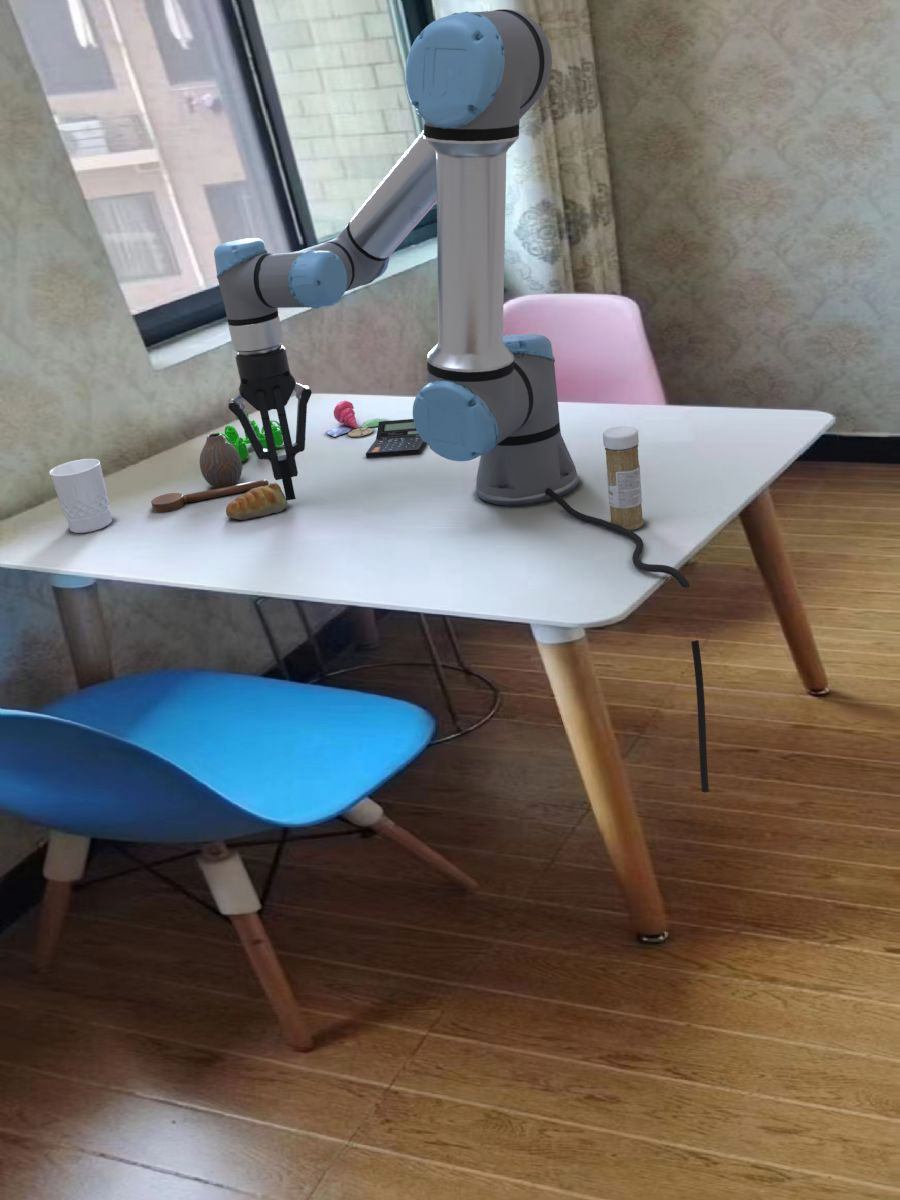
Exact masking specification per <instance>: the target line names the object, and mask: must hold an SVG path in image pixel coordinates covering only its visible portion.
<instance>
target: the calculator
mask: <svg viewBox="0 0 900 1200" xmlns="http://www.w3.org/2000/svg"><path fill="white" fill-rule="evenodd" d="M426 444H427V443H426V442H424V441H423V440H422V439H421V437H420V435H419V434H418V432H417V430H416V427H415V424H414V420H413V418H406V419H393V420H386V421H381V422H379V424H378V426H377V429H376V437H375V440H374V442H373V443H372V444H371V446H370V447H369V448H368V450H367V451H366V452H365V457H366V459H371V458H372V459H374V458H385V457H386V458H387V457H399V456H413V455H414V456H415V455H420V454H421V452H422V451H423V449H424V447H425V446H426Z"/></svg>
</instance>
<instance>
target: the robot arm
mask: <svg viewBox="0 0 900 1200" xmlns="http://www.w3.org/2000/svg"><path fill="white" fill-rule="evenodd" d="M424 27H425V28H424V29H422V30H421V32H420V33H419V34H418V35H417V37H416V38H415V39H414V41H413V42H412V45H411V47H410V49H409V52H408V55H407V59H406V62H405V71H404V76H405V77H404V78H405V80H404V81H405V87H406V92H407V93H406V94H407V96H408V99H409V100H410V103H411V105H412V106H414V107H415V109H416V113H417V114H418V115H419V117H420V118H422V119H423V121H422V122H423V123H422V125H423V130H422V132H421V133H420V134H419V135H418V136H417V138H415V140H414V141H413V142H412V144H411V145H410V146H409V148H408V149H407V150H406V151H405V152H404V154H403V155H401V157H400V158H399V160H398V161H397V162H396V164H395V165H394V166H393V167H392V169H390V171H389V172H388V173H387V175H386V176H385V177H384V178H383V180H382V181H381V182H379V185H378V186H377V187H376V188H375V189H374V190H373V192H371V194H370V196H369V197H368V198H367V199H366V200H365V202H364V203H363V204H362V205H361V207H360V208H359V209H358V210H357V212H356V213H355V214H354V215H353V216H352V218H351V219H350V221H349V222H348V223H347V224H346V225H345V227H343V229H342V230H341V231H340V233H339V234H338V235H337V236H336V237H334V238H333V239H329V240H327V241H323V242H321V243H319V244H315V245H312V246H310V247H305V248H303V249H300V250H296V251H291V252H280V253H270V252H268V250H267V248H266V244H265V242H264V240H263V239H261V238H257V237H251V238H242V239H235V240H231V241H227V242H224V243H220V244H219V245H217V246H216V247H215V249H214V250H213V255H214V256H213V257H214V263H215V264H214V265H215V270H216V279H217V281H218V285H219V289H220V293H221V297H222V302H223V306H224V309H225V315H226V320H227V325H228V326H227V327H228V331H229V335H230V339H231V345H232V349H233V351H235V352H237V353H236V354H235V356H234V358H235V362H236V367H237V371H238V377H239V380H240V385H239V387H238V391H239V393H237V394H236V395H235V396H234V397H233V398H230V399H228V401H227V406H228V407H227V408H228V409H229V411H231V412H232V413H233V414H234V415H235V417H236V416H237V417H238V419H239V420H238V419H237V420H238V421H239V422H240V425H241V427H242V429H243V431H245V432H244V434H245V433H246V435H247V437H248V439H249V441H250V443H249V444H250V445H251V447H252V449H253V452H254V453H255V455H256V457H257V459H258V460H267V461H269V462H270V466H271V470H272V474H273V478H274V480H275V481H279V480H281V481H282V485H283V490H284V495H285V497H286V500H287V501H292V500H296V493H295V490H294V484H293V480H292V478H294V477H298V474H299V472H298V467H297V462H296V455H297V454H299V453H301V452H304V451H305V449H306V431H307V430H306V429H307V414H308V412H307V411H308V403H309V401H310V398H311V396H312V389H311V387H310V386H309V385H308V384H305V385H303V384H301V383H299V382H296V379H295V377H294V376H293V375H292V373H291V370H290V365H289V359H288V354H287V349H286V347H285V346H284V345H283V343H284V341H285V339H284V334H283V329H282V324H281V320H280V314H279V308H280V309H281V308H282V309H285V308H286V309H290V308H293V309H294V308H295V309H296V308H309V309H310V308H311V309H319V308H321V307H322V308H323V307H331V306H334V305H336V304H339V302H340V301H341V298H342V297H343V296H344V295H345V293H346V292H348V291H350V290H353V289H356V288H359V287H362V286H366V285H369V284H371V283H372V282H374V281H375V280H377V279H378V278H380V277H381V276H383V275H384V273H385V272H386V271H387V269H388V266H389V262H390V256H391V255H392V254H393V253H394V251H395V250H397V248H398V247H399V246H400V245H401V244H402V242H403V241H404V240H405V239H406V238H407V237H408V235H410V233H411V232H412V231H413V230H414V229H415V227H416V226H417V225H418V224H419V223H420V222H421V221H422V220H423V219H424V217H425V216H426V215H427V214H428V213H429V212H430V210H431V209H432V208H433V207H434V206H435V205H436V240H437V241H436V242H437V243H436V244H437V245H436V246H437V247H436V248H437V250H436V251H437V253H436V254H437V255H436V256H437V257H436V258H437V259H436V260H437V261H436V263H437V337H438V338H437V344H436V345H434V346H433V348H431V350H430V351H428V353H427V355H426V377H427V378H426V384H424V385H423V387H421V389H420V390H419V391H418V393H417V395H416V396H415V399H414V401H413V404H412V419H413V420H414V424H415V427H416V430H417V432H418V434H419V435H420V437H421V439H422V440H423V441H424V442H426V444H427V446H428V447H429V449H430V450H431V451H432V452H434V453H435V454H437V456H440V457H442V458H444V459H447V460H449V461H453V462H469V461H472V460H475V459H477V458H479V457H480V458H479V463H478V468H477V473H476V479H475V481H476V482H475V487H476V493H477V496H478V497H479V499H480V500H482V501H484V502H486V503H489V504H493V505H498V506H527V505H528V506H529V505H535V504H540V503H546V502H550V501H553V500H554V502H556V503H557V504H558V505H559V506H560V507H561V508H563V510H564V511H565V512H566V513H568V514H569V515H570V516H572V517H574V518H576V519H578V520H580V521H582V522H585V523H588V524H592V525H595V526H598V527H602V528H605V529H607V530H610V531H612V532H614V533H617V534H621V535H623V536H624V537H627V538H628V539H631V540H632V541H634V543H635V549H634V551H633V554H632V559H631V560H632V563H633V565H634V566H635V568H637V569H638V570H640V571H642V572H646V573H647V572H648V573H662V574H667V575H670V576H672V577H673V578H674V579H676V580H677V581H678V583H679V584H680V586H681V587H682V588H685V589H686V588H690V587H691V585H690V583H689V581H688V579H687V578H686V577H685V575H684V574H683V573H682V572H681V571H680V570H678V569H676V568H675V567H673V566H670V565H666V564H653V563H652V564H651V563H645V562H643V561H642V560H641V554H642V552H643V550H644V540H643V539H642V538H641V536H639V535H638V534H637V533H636V532H634V531H633V530H628V529H626V528H623V527H621V526H618V525H615V524H613V523H610V522H611V521H608V520H605V519H602V518H598V517H594V516H591V515H588V514H585V513H582V512H580V511H578V510H577V509H575V508H573V507H572V506H571V505H570V504H569V503H568V502H567V501H566V500H565V499H563V496H566V495H567V494H569V493H570V492H572V491H573V490H574V489H576V487H577V486H578V483H579V481H578V472H577V468H576V465H575V463H574V460H573V458H572V456H571V454H570V451H569V449H568V446H567V445H566V443H565V440H564V438H563V436H562V431H561V423H560V410H559V399H558V390H557V389H558V388H557V378H556V365H555V362H556V358H555V356H554V353H553V347H552V342H551V340H550V339H549V338H548V337H547V336H545V335H543V334H535V333H518V334H515V333H514V334H504V301H505V297H504V296H505V295H504V294H505V293H504V292H505V243H506V236H505V235H506V196H507V195H506V194H507V193H506V190H507V153H508V150H509V149H510V148H511V147H513V145H514V144H515V143H516V142H517V141H518V140H519V138H520V121H521V119H522V118H523V117H524V116H525V114H527V113H528V111H529V110H530V109H531V108H532V107H533V106H534V105H535V103H537V101H538V100H539V99H540V98H541V96H542V94H543V93H544V92H545V90H546V88H547V86H548V84H549V82H550V81H549V80H550V77H551V74H552V67H553V53H552V49H551V48H552V47H551V43H550V41H549V39H548V36H547V35H546V33H545V31H544V30H543V28H542V27H541V26H540V25H539V23H538V22H537V21H536V20H535V19H534V18H532V17H531V16H529V15H527V14H526V13H524V12H521V11H518V10H515V9H509V8H508V9H507V8H503V9H493V10H486V11H484V10H483V11H468V10H467V11H462V12H454V13H451V14H448V15H447V16H443V17H440V18H438V19H435V20H433V21H431V23H429V24H428V25H427V26H424ZM294 391H295V393H294V394H295V398H296V399H297V406H296V407H297V408H296V409H297V410H296V429H295V430H296V431H295V442H294V443H293V442H292V441H293V440H292V437H291V431H290V426H289V423H288V417H287V411H286V406H287V405H288V403H289V401H290V398H291V397H292V394H293V392H294ZM244 400H245V401H246V402H247V403H248V404H249V405H250V406H252V407H253V409H255V410H256V411H258V412H259V413H260V418H261V419H260V420H261V424H262V427H263V428H264V432H263V433H264V434H265V438H266V443H267V447H268V449H263V447H262V445H261V443H260V441H259V438H258V436H257V434H256V432H255V430H254V428H253V426H252V424H251V422H250V421H251V420H250V418H249V417H248V416H249V415H248V416H247V414H248V413H247V412H246V411H245V408H246V404H245V402H244ZM272 410H276V413H277V418H278V423H279V424H280V428H281V433H282V439H283V445H284V446H283V448H284V451H285V454H281V455H278V453H277V449H276V447H277V446H275V442H274V437H273V433H272V428H271V423H270V420H271V419H270V414H269V411H272ZM246 413H247V414H246ZM280 428H279V429H280ZM690 643H691V650H692V658H693V666H694V676H695V688H696V689H695V691H696V705H697V724H698V725H697V726H698V727H697V728H698V750H699V751H698V752H699V770H700V771H699V772H700V784H701V793H705V794H706V793H709V791H710V790H709V789H710V788H709V774H708V773H709V772H708V771H709V770H708V753H707V727H706V726H707V725H706V724H707V723H706V705H705V704H706V703H705V687H704V686H705V685H704V676H703V665H702V658H701V657H702V656H701V648H700V641H699V640H698V639H697V640H693V641H690Z"/></svg>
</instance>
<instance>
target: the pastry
mask: <svg viewBox="0 0 900 1200" xmlns="http://www.w3.org/2000/svg"><path fill="white" fill-rule="evenodd" d="M287 506H288V500H286V496H285V493H284V492H283V490H282V488H281V486H280V484H278V483H277V482H270V483H269V485H268V486H261V487H257V488H253V489H251V490H249V491H247V492H244V494H242V495H240V496H238V497H236V498H235V499H234V500H232V501H231V502H229V503H228V504H227V505H226V508H225V513H226V514H225V515H226V516H227V517H228V518H231V519H234V520H239V521H242V520H246V521H247V520H249V519H256V518H259V517H265V516H269V515H271V514H273V513H275V514H277V513H280V512H283V511H284V510H286V509H287Z"/></svg>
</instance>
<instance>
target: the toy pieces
mask: <svg viewBox="0 0 900 1200" xmlns="http://www.w3.org/2000/svg"><path fill="white" fill-rule="evenodd" d="M354 409H355V407H354V404H353V403H352V402H351V401H349V400H341V401H340V402H337V404H336V405H335V406H334V409H333V418H334V420H336V421H337V422H338V423H339V424H343V425H344V426H340V427H339V426H338V427H333V428H332V429H330V430H328V431H327V432H326V434H327V435H329V436H332V437H334V438H336V437H339V436H342V435H345V434H347V436H348V437H349V438H361V437H365V436H367V435H371V434H372V433H373V432H374V430H373V429H372V428H376V427H377V428H378V424H379V422H381V421H387V420H386V419H384V418H375V419H371V420H368V421H366V422H365V423H364V424H363V425H360V428H358V424H357V418H356V412H355V410H354ZM352 428H353V429H352Z"/></svg>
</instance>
